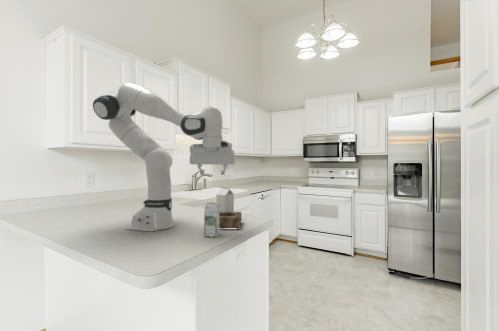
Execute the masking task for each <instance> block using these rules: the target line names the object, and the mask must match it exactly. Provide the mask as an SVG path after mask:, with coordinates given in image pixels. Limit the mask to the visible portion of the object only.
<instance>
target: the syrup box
mask: <svg viewBox="0 0 499 331" xmlns="http://www.w3.org/2000/svg"><path fill="white" fill-rule="evenodd" d="M203 205H204V208H203V209H204V217H203V218H204V223H203V224H204V225H203V226H204V227H203V228H204V232H203V233H204V234H203V235H204V236H217V235H218V234H219V235H220V230H219V211H220V204H219V203H216V202H206V203H205V204H203ZM219 235H218V236H219ZM218 236H217V237H218Z"/></svg>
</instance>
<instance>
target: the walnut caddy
mask: <svg viewBox="0 0 499 331" xmlns="http://www.w3.org/2000/svg"><path fill="white" fill-rule="evenodd" d="M240 224H241V225H242V211H234V212H219V228H237V229H238V228H239V226H240V227H241V225H240ZM239 229H240V228H239Z"/></svg>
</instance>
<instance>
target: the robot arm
mask: <svg viewBox="0 0 499 331" xmlns="http://www.w3.org/2000/svg"><path fill="white" fill-rule="evenodd" d="M92 110H93V112H94V113H95V114H96V116H97V117H98V118H100V119H101V120H106V121H108V127H109V130H110V131H111V132H112V133H113V134H114V135H115V136H116V137H117V139H119V140H120V142H122V143H123V145H125V146H126V147H127V148H128V149H129V150H130V151H131V152H132V153H134V154H135V155H137V156H138V157H139V158H140V159H141V160H143V161H145V162H144V163H145V171H146V178H147V199H145V200H143V201H142V204H143V205H144V206H143V207H142V208H141V209H140V210H137V212H135V213H134V214H133V215H132V218H131V222H130V223H129V224H128V225H126V228H125V229H126V230H131V231H132V230H133V231H140V232H141V231H143V232H155V231H161V230H167V229H171V228H173V227H174V226H175V224H174V220H173V214H172V210H173V199H172V181H171V169H170V168H171V167H172V165H173V157H172V155H171V154H170V153H169V152H168V151H166V149H164V148H163V147H162V146H161V145H160V144H159V143H157V141H156V140H154V139H153V138H152V137H151V136H150V135H148V134H147V133H146V131H144V130H143V129H142V127H140V126H139V125H138V124H137V123H136V122H135V121H134V120H133V119H132V116H135V115H136V112H138V113H141V115H142V114H143V115H145V116H149V117H152V118H155V119H159V120H164V121H166V122H169V123H172V124H174V125H175V126H178V127H180V130H181V131H182V133H183V134H185V135H186V136H189V137H190V138H193V139H195V140H197V141H198V140H199V141H200V140H202V143H198V144H197V143H194V144H191V145H190V146H189V164H190V165H197V170H199V175H200V176H203V175H205V170H203V168H202V166H203V165H223V169H222V170H221V171H220V175H221V176H225V175H226V170H227V168H228V165H234V164H235V163H236V156H235V151H234V150H233V144H232V142H229V141H226V140H223V135H222V131H223V115H222V112H221V111H220V110H219V109H217V108H215V107H211V106H205V107H203V108H202V109H201V110H199V111H197V112H195V113H191V114H187V115H186V114H184V113H183V112H180V111H178V110H176V109H175V108H173V107H172V106H171V105H170V104H169V103H168V102H167V101H165V100H164V99H163V98H161V96H159V95H158V94H156V93H155V92H153V91H152V90H150V89H148V88H146V87H144V86H142V85H140V84H136V83H134V82H133V83H132V82H124V83H122V84H121V85H120V86H119V88H118V91H113V92H110V93H108V94H105V95H100V96H98V97H97V98H95V99H94V101H93V102H92Z"/></svg>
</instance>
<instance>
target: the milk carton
mask: <svg viewBox="0 0 499 331" xmlns="http://www.w3.org/2000/svg"><path fill="white" fill-rule="evenodd" d="M234 194H235V193H234V192H233V191H232V190H231V187H227V186H220V189H219V190H218V191H217V193H216V202H215V203H219V204H220V211H219V212H235V211H234V208H235V206H234V203H235V202H234V201H235V198H234V197H235V195H234Z"/></svg>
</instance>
